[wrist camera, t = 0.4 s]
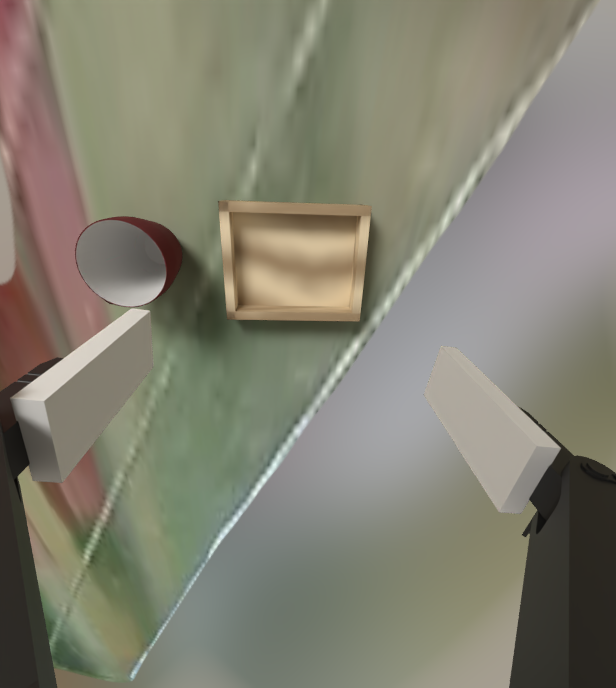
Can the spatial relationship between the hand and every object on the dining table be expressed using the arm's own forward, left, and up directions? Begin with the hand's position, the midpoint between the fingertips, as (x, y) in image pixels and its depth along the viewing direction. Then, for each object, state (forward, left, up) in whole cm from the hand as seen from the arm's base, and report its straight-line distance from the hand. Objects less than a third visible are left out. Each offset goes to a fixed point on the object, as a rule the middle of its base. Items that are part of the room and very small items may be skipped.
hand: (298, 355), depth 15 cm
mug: (+1, -16, -28) cm, 32 cm away
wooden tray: (+1, 0, -27) cm, 27 cm away
